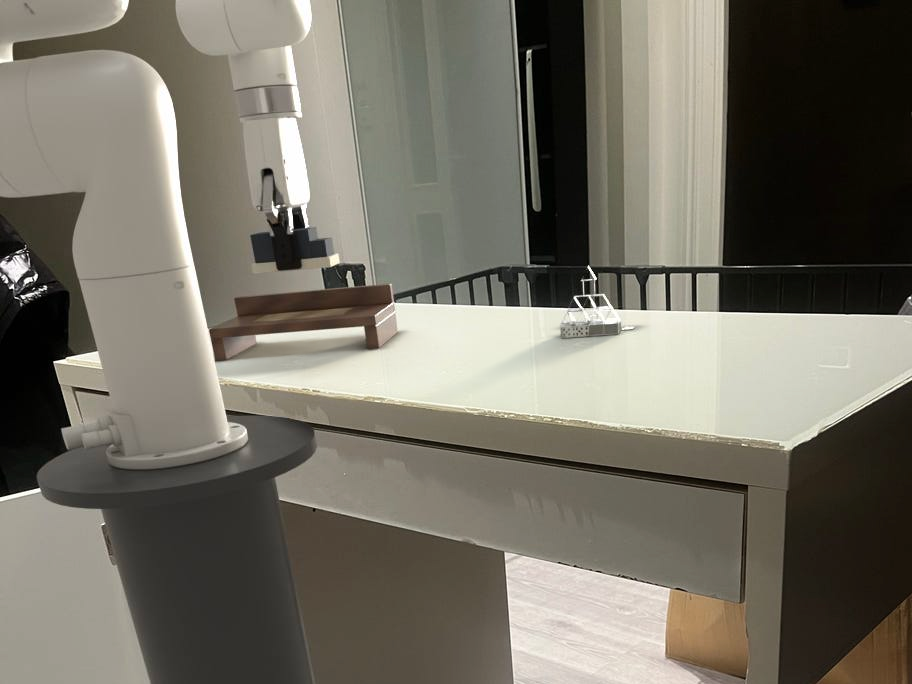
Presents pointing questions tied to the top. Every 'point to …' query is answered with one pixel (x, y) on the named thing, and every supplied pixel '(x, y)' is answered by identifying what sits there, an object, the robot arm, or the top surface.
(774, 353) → the top surface
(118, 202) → the robot arm
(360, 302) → the wooden bench
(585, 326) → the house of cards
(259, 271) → the stepped dark grey block
